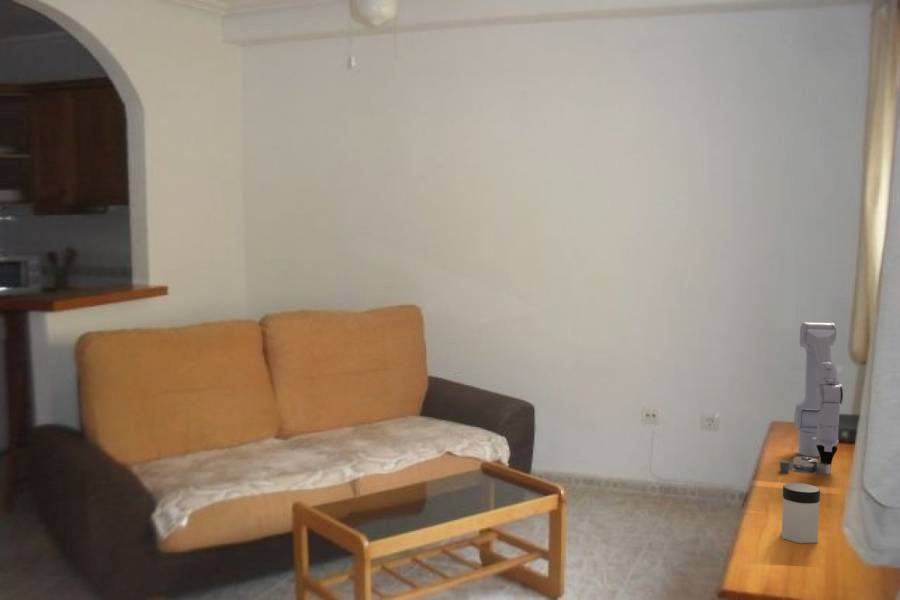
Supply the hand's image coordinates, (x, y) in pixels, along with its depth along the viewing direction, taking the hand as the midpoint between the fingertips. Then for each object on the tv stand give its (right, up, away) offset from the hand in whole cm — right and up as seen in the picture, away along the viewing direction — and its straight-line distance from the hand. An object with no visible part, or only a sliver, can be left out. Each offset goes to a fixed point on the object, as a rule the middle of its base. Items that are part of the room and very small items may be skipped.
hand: (825, 469), depth 270 cm
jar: (-29, -6, -56) cm, 64 cm away
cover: (-4, 0, +4) cm, 6 cm away
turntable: (-5, -2, +4) cm, 6 cm away
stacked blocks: (-13, -2, -2) cm, 13 cm away
